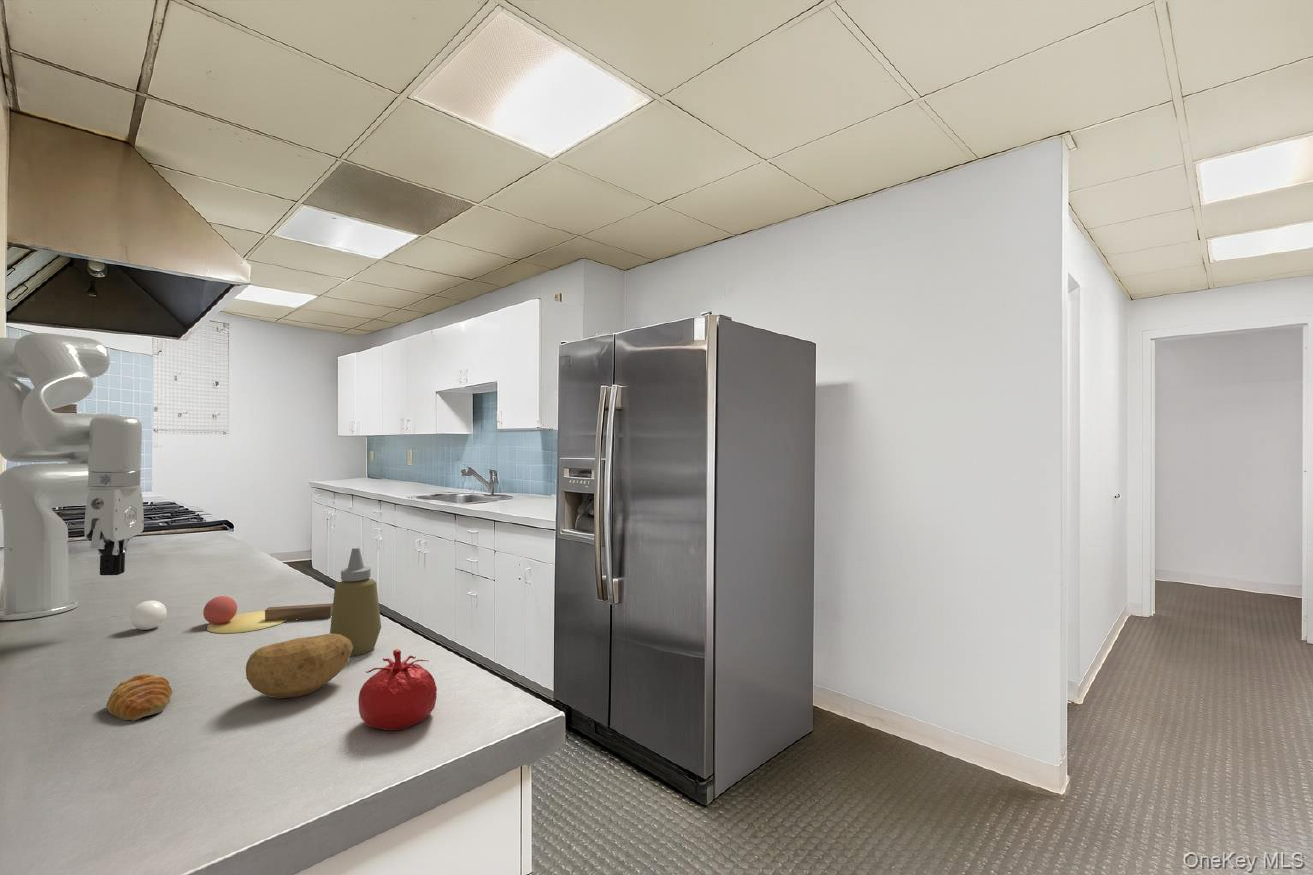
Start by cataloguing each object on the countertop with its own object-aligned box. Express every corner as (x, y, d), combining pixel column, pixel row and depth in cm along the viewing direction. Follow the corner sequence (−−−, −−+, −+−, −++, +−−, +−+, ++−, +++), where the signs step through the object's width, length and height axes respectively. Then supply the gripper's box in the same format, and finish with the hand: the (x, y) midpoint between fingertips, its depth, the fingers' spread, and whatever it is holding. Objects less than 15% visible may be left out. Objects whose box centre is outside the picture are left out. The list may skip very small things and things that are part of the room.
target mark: (193, 625, 118) (193, 624, 118) (269, 608, 130) (269, 607, 130) (227, 638, 110) (227, 637, 110) (304, 618, 122) (304, 617, 122)
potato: (364, 686, 89) (364, 633, 89) (256, 719, 79) (256, 659, 79) (339, 669, 96) (339, 619, 96) (235, 698, 85) (235, 642, 85)
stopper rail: (330, 617, 123) (330, 605, 123) (265, 622, 120) (264, 609, 120) (333, 615, 125) (333, 603, 125) (268, 619, 122) (268, 607, 122)
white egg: (165, 595, 116) (175, 621, 117) (156, 595, 119) (165, 621, 120) (130, 608, 112) (140, 635, 112) (121, 608, 115) (131, 634, 115)
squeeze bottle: (318, 655, 102) (318, 550, 102) (358, 640, 109) (358, 543, 109) (353, 662, 99) (353, 554, 99) (391, 646, 106) (391, 546, 106)
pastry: (181, 711, 82) (180, 684, 82) (115, 730, 77) (114, 701, 76) (165, 692, 88) (165, 666, 88) (103, 709, 83) (103, 681, 83)
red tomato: (387, 747, 72) (387, 671, 72) (341, 726, 77) (341, 654, 77) (454, 715, 80) (454, 646, 80) (408, 697, 86) (408, 633, 86)
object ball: (226, 586, 119) (247, 606, 120) (219, 595, 122) (239, 614, 123) (200, 605, 115) (221, 625, 115) (193, 614, 118) (214, 633, 119)
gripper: (112, 484, 108) (109, 584, 109) (159, 476, 123) (157, 564, 123) (62, 484, 106) (60, 585, 107) (116, 475, 121) (114, 565, 121)
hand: (112, 573), depth 115 cm, fingers closed
